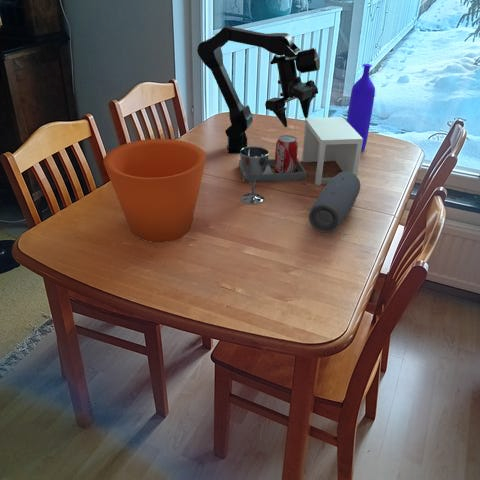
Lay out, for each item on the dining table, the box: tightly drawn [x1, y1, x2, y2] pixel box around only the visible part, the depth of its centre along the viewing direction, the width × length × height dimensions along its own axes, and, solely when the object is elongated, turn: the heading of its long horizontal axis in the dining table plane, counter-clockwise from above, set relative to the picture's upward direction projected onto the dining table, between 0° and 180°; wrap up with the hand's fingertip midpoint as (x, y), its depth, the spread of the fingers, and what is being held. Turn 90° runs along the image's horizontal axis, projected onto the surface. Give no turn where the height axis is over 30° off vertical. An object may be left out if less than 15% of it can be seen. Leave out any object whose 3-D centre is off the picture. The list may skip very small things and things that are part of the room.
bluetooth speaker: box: [308, 171, 361, 234], centre depth 132 cm, size 23×9×10 cm, turn 155°
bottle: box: [346, 63, 376, 152], centre depth 170 cm, size 8×8×30 cm
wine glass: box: [239, 145, 269, 205], centre depth 138 cm, size 8×8×15 cm
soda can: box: [274, 134, 299, 173], centre depth 155 cm, size 7×7×12 cm
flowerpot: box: [102, 138, 207, 243], centre depth 123 cm, size 25×25×20 cm
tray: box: [238, 157, 307, 183], centre depth 157 cm, size 20×12×2 cm, turn 98°
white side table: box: [301, 116, 363, 186], centre depth 156 cm, size 13×20×15 cm, turn 8°
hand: (296, 122), depth 161 cm, fingers open, 9 cm apart
